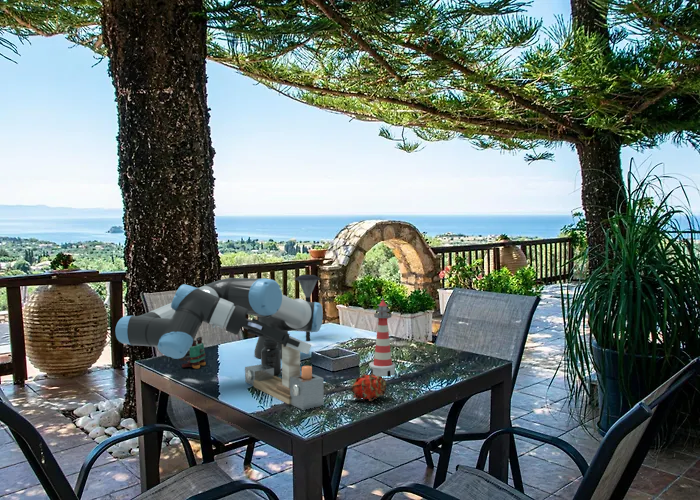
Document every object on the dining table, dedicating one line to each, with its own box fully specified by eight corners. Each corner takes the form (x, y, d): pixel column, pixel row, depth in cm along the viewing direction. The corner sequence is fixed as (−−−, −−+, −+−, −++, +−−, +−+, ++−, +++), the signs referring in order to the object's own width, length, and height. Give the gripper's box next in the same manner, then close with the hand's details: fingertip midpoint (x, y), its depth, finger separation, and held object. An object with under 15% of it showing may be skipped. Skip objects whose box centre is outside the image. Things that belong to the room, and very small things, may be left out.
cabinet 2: (310, 399, 164) (310, 373, 163) (323, 405, 158) (323, 378, 158) (288, 404, 159) (288, 377, 159) (301, 410, 154) (301, 382, 153)
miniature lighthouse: (377, 380, 184) (377, 292, 183) (364, 374, 192) (364, 289, 191) (400, 377, 188) (400, 290, 187) (386, 370, 196) (386, 288, 195)
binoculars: (183, 337, 208) (207, 335, 206) (186, 364, 209) (210, 363, 207) (171, 342, 200) (196, 340, 198) (174, 370, 200) (199, 369, 198)
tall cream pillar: (292, 387, 171) (291, 336, 170) (306, 393, 164) (305, 340, 164) (276, 390, 167) (276, 338, 167) (290, 397, 161) (289, 343, 160)
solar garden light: (289, 340, 250) (288, 275, 249) (310, 336, 259) (309, 273, 257) (305, 344, 241) (305, 276, 240) (326, 340, 250) (326, 275, 248)
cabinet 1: (263, 378, 187) (263, 363, 187) (274, 382, 181) (273, 368, 181) (243, 382, 182) (243, 367, 182) (253, 386, 177) (253, 371, 176)
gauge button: (308, 385, 161) (308, 365, 161) (313, 387, 158) (313, 367, 158) (299, 387, 159) (299, 366, 159) (305, 389, 157) (305, 368, 156)
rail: (275, 382, 182) (275, 375, 181) (311, 399, 164) (311, 391, 164) (253, 386, 177) (253, 379, 177) (288, 404, 159) (288, 396, 159)
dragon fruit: (390, 403, 165) (352, 413, 161) (381, 381, 171) (344, 390, 168) (393, 386, 159) (354, 395, 156) (383, 364, 165) (345, 372, 162)
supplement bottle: (284, 372, 194) (284, 339, 194) (275, 377, 188) (275, 343, 187) (266, 371, 196) (266, 338, 196) (257, 376, 190) (257, 341, 189)
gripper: (224, 331, 153) (301, 362, 156) (224, 328, 141) (307, 362, 144) (235, 306, 155) (310, 337, 158) (236, 301, 143) (318, 335, 146)
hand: (309, 349), depth 151 cm, fingers closed
